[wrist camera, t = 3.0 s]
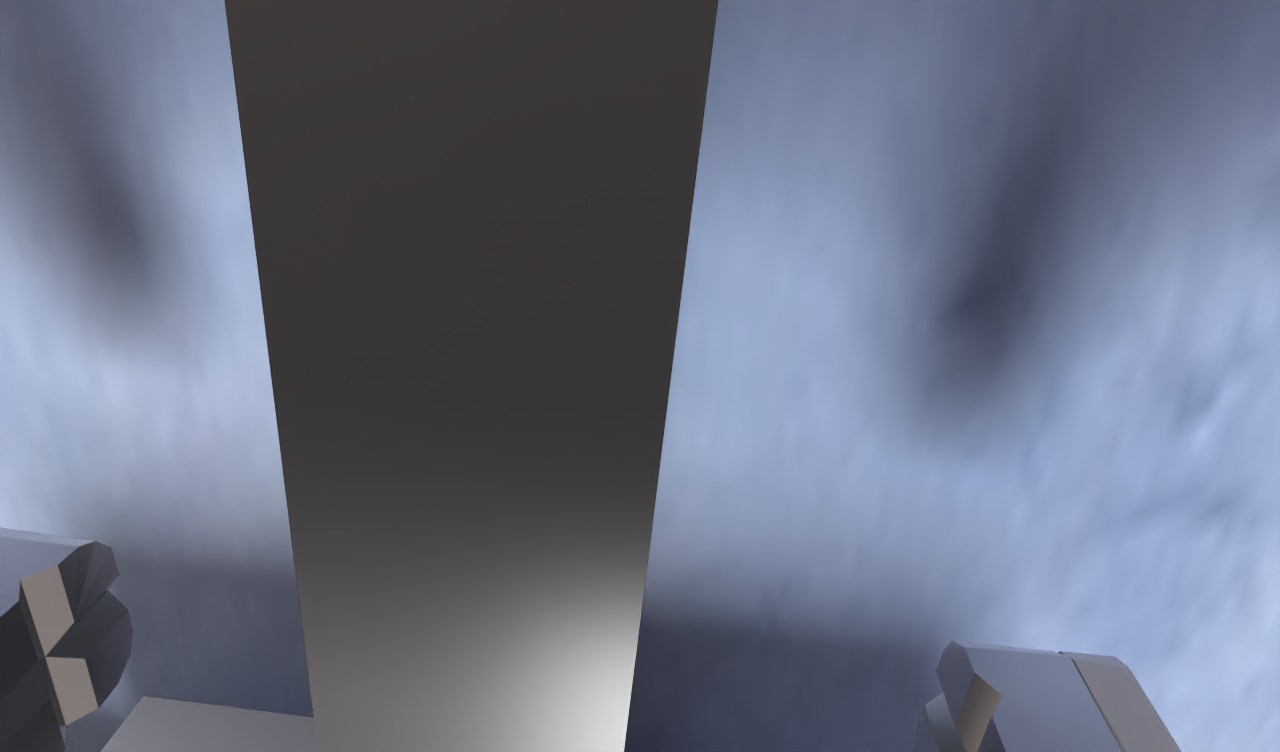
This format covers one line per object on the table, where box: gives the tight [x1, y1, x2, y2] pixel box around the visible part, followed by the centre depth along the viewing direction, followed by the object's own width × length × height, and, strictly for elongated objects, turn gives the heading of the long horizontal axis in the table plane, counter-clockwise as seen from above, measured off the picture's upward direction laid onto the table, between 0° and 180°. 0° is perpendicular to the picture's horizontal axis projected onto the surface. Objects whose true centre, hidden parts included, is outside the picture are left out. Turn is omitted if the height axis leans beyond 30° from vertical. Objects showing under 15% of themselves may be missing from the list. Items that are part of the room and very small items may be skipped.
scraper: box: [100, 0, 718, 752], centre depth 8 cm, size 15×12×4 cm
